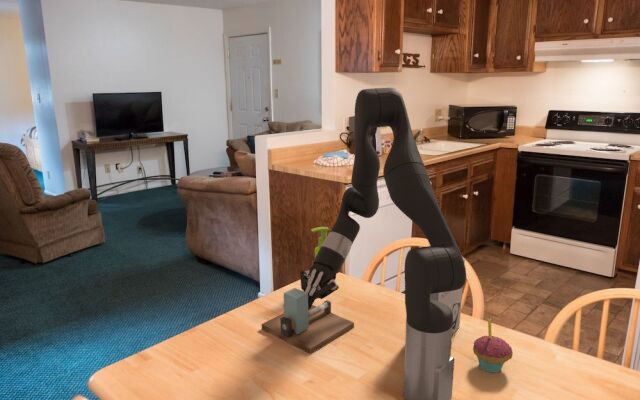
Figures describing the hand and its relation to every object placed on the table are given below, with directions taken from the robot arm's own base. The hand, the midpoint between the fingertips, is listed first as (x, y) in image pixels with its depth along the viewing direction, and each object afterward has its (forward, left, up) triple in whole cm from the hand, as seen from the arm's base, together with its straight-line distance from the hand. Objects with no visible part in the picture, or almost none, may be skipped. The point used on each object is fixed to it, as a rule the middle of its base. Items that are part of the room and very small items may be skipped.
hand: (303, 309), depth 128 cm
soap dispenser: (+14, -23, -7) cm, 28 cm away
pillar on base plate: (0, -2, -6) cm, 6 cm away
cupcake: (-44, -17, -7) cm, 48 cm away
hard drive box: (-27, -21, -7) cm, 35 cm away
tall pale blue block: (0, +3, -4) cm, 5 cm away
